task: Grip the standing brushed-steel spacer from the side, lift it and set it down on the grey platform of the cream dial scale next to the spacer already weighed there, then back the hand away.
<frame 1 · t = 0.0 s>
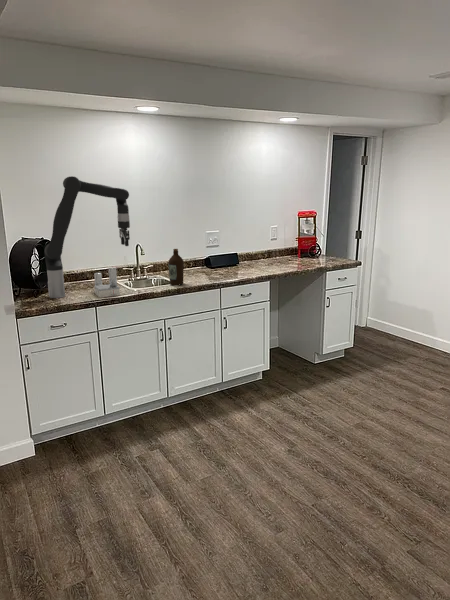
hand: (124, 245, 299), 29 cm above the worktop, tool pointing down, fingers open, 8 cm apart
spacer: (99, 291, 299), on the worktop
olive oil: (176, 284, 320), on the worktop
scale: (107, 294, 291), on the worktop
spacer on scale: (113, 286, 289), point 5 cm above the worktop, touching scale
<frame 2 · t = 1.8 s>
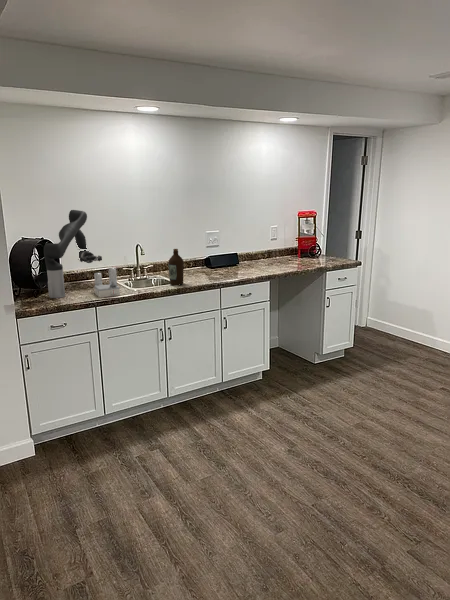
hand: (93, 260, 304), 19 cm above the worktop, tool horizontal, fingers open, 8 cm apart
nothing on the worktop moved.
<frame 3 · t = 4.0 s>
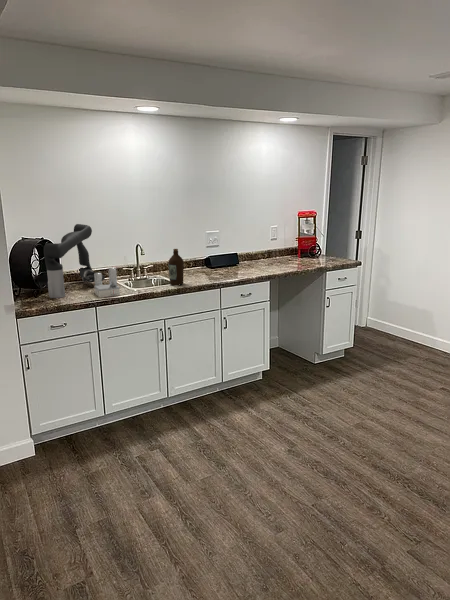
hand: (96, 279, 303), 6 cm above the worktop, tool horizontal, fingers open, 8 cm apart
nothing on the worktop moved.
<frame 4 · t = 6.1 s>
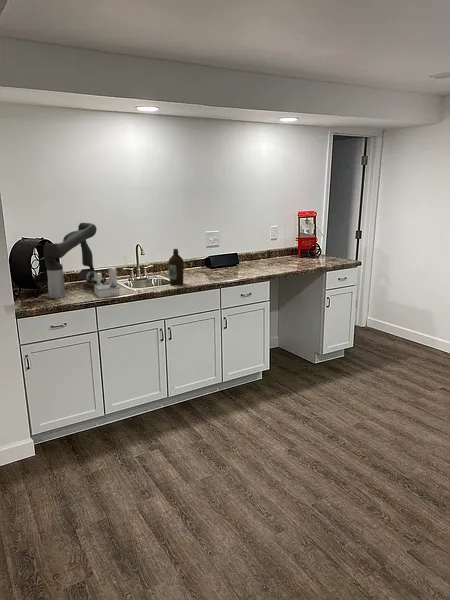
hand: (99, 282, 295), 7 cm above the worktop, tool horizontal, fingers closed on spacer, 4 cm apart
spacer: (99, 291, 299), on the worktop, touching gripper
everything else where it was.
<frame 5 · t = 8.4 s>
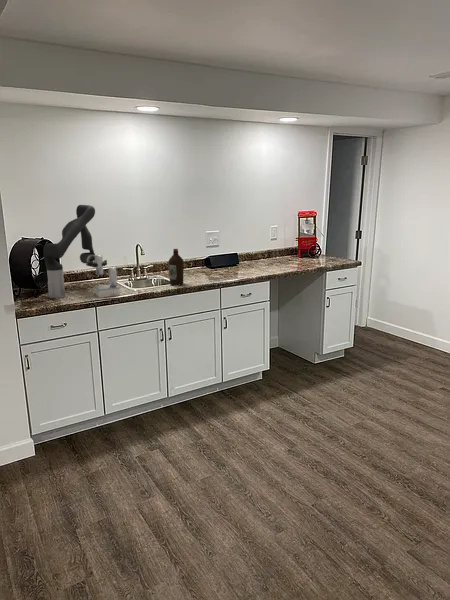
hand: (100, 264, 288), 19 cm above the worktop, tool horizontal, fingers closed on spacer, 4 cm apart
spacer: (99, 274, 291), point 12 cm above the worktop, touching gripper
everything else where it was.
when the fingers open (12 cm above the worktop, at t = 10.7 s): spacer stays where it is, resting on scale.
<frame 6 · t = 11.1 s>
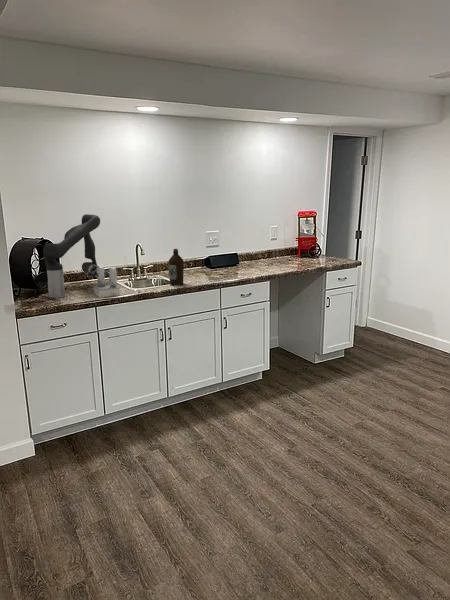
hand: (101, 275, 288), 12 cm above the worktop, tool horizontal, fingers open, 8 cm apart
spacer: (101, 286, 291), point 5 cm above the worktop, touching scale
everything else where it was.
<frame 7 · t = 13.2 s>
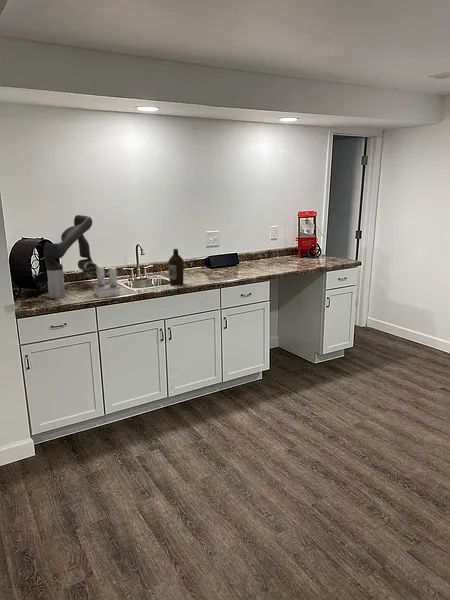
hand: (96, 271, 299), 13 cm above the worktop, tool horizontal, fingers open, 8 cm apart
nothing on the worktop moved.
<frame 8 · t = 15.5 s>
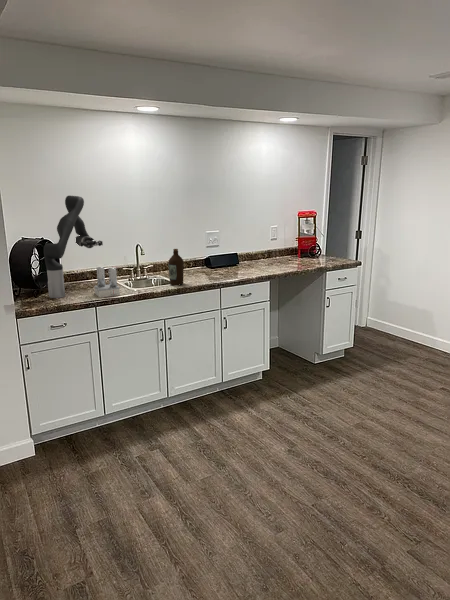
hand: (93, 244, 297), 30 cm above the worktop, tool horizontal, fingers open, 8 cm apart
nothing on the worktop moved.
at the end: spacer inside the target area on the scale (4.0 cm from its centre), point 5.0 cm above the scale's base; spacer tilted 1°; the gripper is holding nothing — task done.
